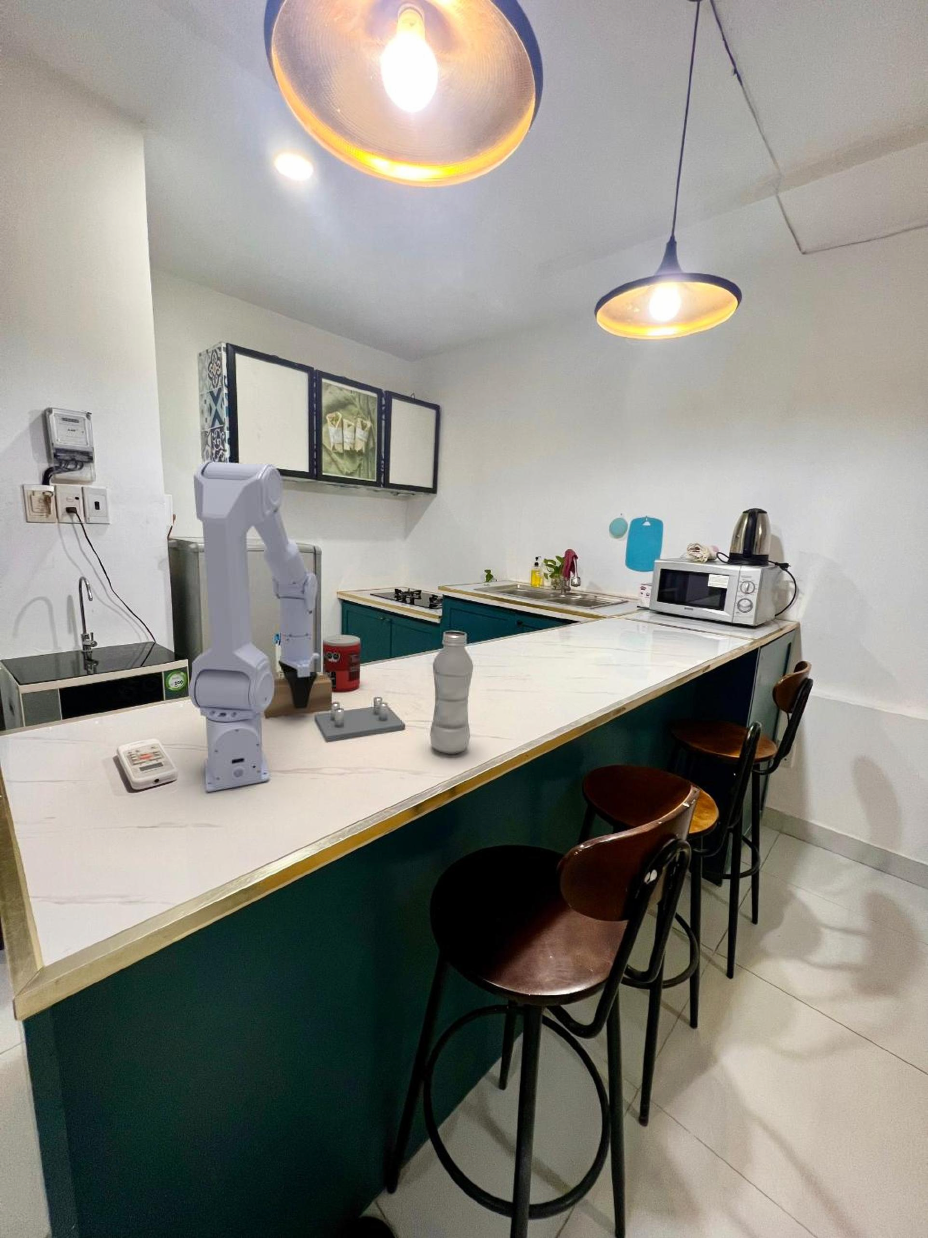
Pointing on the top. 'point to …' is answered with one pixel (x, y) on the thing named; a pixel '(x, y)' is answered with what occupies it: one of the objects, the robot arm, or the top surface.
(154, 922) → the top surface
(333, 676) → the canned food
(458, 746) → the plastic bottle
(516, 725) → the top surface
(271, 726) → the top surface
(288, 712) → the shelf block
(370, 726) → the peg stand
